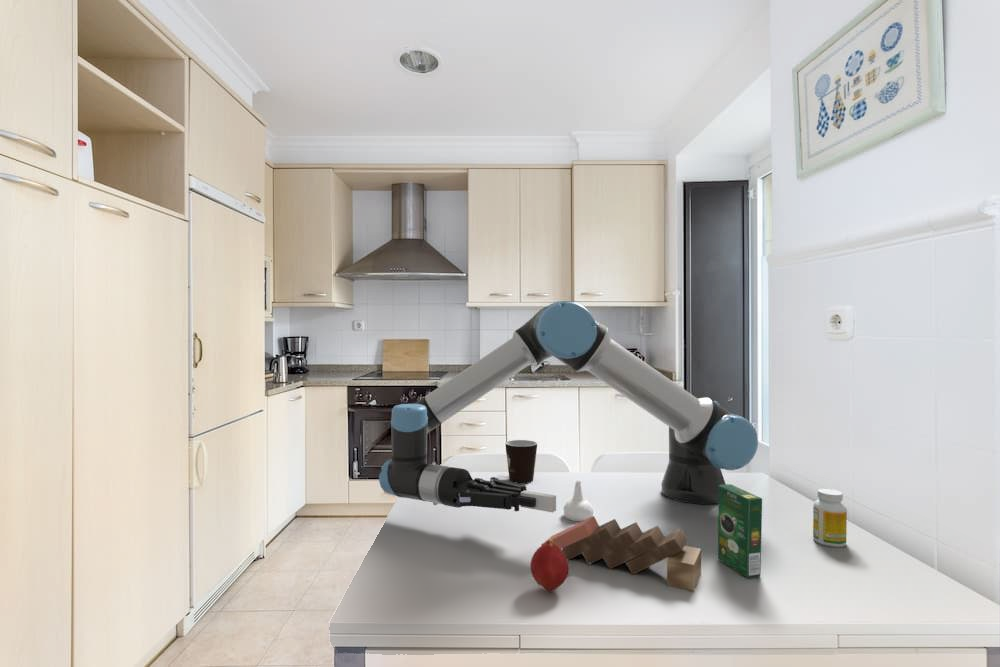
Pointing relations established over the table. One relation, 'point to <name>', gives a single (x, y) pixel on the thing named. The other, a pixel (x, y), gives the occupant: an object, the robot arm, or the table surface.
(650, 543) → the domino
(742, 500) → the coffee box
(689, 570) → the end block
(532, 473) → the coffee mug
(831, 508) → the supplement bottle
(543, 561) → the onion
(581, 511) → the garlic bulb
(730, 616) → the table surface
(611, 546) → the domino
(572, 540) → the domino
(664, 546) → the domino
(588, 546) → the domino
